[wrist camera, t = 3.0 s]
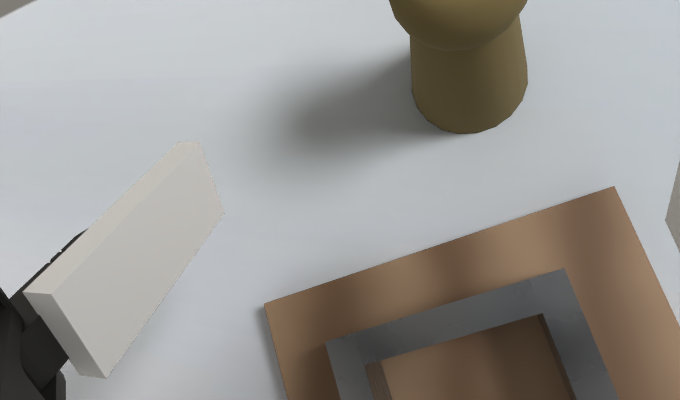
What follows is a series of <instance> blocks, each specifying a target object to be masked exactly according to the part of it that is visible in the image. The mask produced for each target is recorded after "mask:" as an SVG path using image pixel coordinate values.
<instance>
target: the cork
mask: <svg viewBox="0 0 680 400" xmlns="http://www.w3.org/2000/svg"><path fill="white" fill-rule="evenodd" d="M389 2H390V5H391V8H392V11H393V13H394V16H395V19H396V20H397V21H398V22H399V23H400V25H401V26H402V27H403V28H404V29H405V31H406V32H407V33H408V34H409V35H410V53H411V76H412V93H413V96H414V99H415V102H416V105H417V108H418V109H419V110H420V111H421V113H422V114H423V115H424V117H425V118H426V119H427V120H428V121H429V122H431V123H433V124H434V125H436V126H437V127H439V128H440V129H442V130H446V131H450V132H454V133H458V134H466V133H479V132H482V131H485V130H487V129H490V128H493V127H496V126H497V125H499V124H500V123H501V122H503V121H504V120H505V119H507V118H508V117H510V116H511V115H512V113H513V112H514V111H515V109H516V108H517V107H518V105H519V104H520V103H521V101H522V99H523V96H524V93H525V90H526V87H527V84H528V79H527V62H526V56H525V50H524V43H523V37H522V31H521V24H520V18H519V13H520V12H521V11H522V9H523V8H524V6H525V4H526V3H527V0H389Z"/></svg>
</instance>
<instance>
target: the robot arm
mask: <svg viewBox="0 0 680 400" xmlns="http://www.w3.org/2000/svg"><path fill="white" fill-rule="evenodd" d="M224 214H225V213H224V210H223V207H222V204H221V201H220V199H219V196H218V193H217V190H216V187H215V184H214V181H213V178H212V176H211V173H210V170H209V167H208V164H207V161H206V158H205V155H204V153H203V150H202V147H201V144H200V142H178V143H177V144H176V145H175V146H174V147H173V148H172V149H171V150H170V151H169V152H168V153H167V154H166V155H165V156H163V157H162V158H161V159H160V160H159V161H158V162H157V163H156V164H155V165H154V166H153V167H152V168H151V169H150V170H149V171H148V172H147V173H146V174H145V175H144V176H143V177H142V178H141V179H139V180H138V181H137V182H136V183H135V184H134V185H133V186H132V187H131V188H130V189H129V190H128V191H127V192H126V193H125V194H124V195H123V196H122V197H121V198H120V199H119V200H118V201H117V202H116V203H114V204H113V205H112V206H111V207H110V208H109V209H108V210H107V211H106V212H105V213H104V214H103V215H102V216H101V217H100V218H99V219H98V220H97V221H96V222H95V223H94V224H93V225H92V226H90V227H89V228H88V229H86V230H85V231H83V232H82V233H80V234H78V235H77V236H75V237H74V238H73V239H72V240H71V241H70V242H69V243H68V244H67V245H66V246H65V247H64V248H63V249H61V250H62V252H58V253H57V254H56V255H55V256H54V257H53V258H52V259H51V260H50V263H47V264H46V265H45V266H44V267H42V268H41V269H40V270H39V271H38V272H37V273H36V274H35V275H34V276H33V277H32V278H31V279H30V280H29V281H28V282H27V283H26V284H25V285H23V286H22V287H21V288H20V289H19V290H18V291H17V292H16V293H15V294H14V295H13V296H12V297H11V298H10V299H8V297H7V296H6V295H5V293H4V292H3V290H2V289H1V288H0V400H66V381H65V378H64V375H63V374H62V372H61V371H60V369H61V367H62V366H63V365H64V364H65V362H66V361H67V360H68V359H69V360H70V361H71V363H72V364H73V366H74V367H75V369H76V370H77V372H78V373H79V374H80V375H83V376H91V377H99V378H107V377H108V375H109V374H110V373H111V371H112V370H113V368H114V367H115V366H116V364H117V363H118V361H119V360H120V359H121V357H122V356H123V354H124V353H125V352H126V350H127V349H128V347H129V346H130V345H131V343H132V342H133V340H134V339H135V338H136V336H137V335H138V334H139V332H140V331H141V329H142V328H143V327H144V325H145V324H146V322H147V321H148V320H149V318H150V317H151V315H152V314H153V313H154V311H155V310H156V308H157V307H158V306H159V304H160V303H161V301H162V300H163V299H164V297H165V296H166V294H167V293H168V292H169V290H170V289H171V288H172V286H173V285H174V283H175V282H176V281H177V279H178V278H179V276H180V275H181V274H182V272H183V271H184V269H185V268H186V267H187V265H188V264H189V262H190V261H191V260H192V258H193V257H194V255H195V254H196V253H197V251H198V250H199V248H200V247H201V246H202V244H203V243H204V242H205V240H206V239H207V237H208V236H209V235H210V233H211V232H212V230H213V229H214V228H215V226H216V225H217V223H218V222H219V221H220V219H221V218H222V216H223V215H224ZM665 221H666V223H667V226H668V228H669V230H670V232H671V234H672V236H673V239H674V241H675V243H676V245H677V247H678V249H679V251H680V162H679V166H678V170H677V174H676V178H675V182H674V186H673V190H672V194H671V198H670V203H669V207H668V211H667V215H666V219H665Z"/></svg>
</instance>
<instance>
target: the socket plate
mask: <svg viewBox="0 0 680 400" xmlns="http://www.w3.org/2000/svg"><path fill="white" fill-rule="evenodd" d="M264 307H265V311H266V315H267V319H268V323H269V327H270V331H271V335H272V339H273V343H274V347H275V351H276V355H277V359H278V363H279V367H280V371H281V375H282V379H283V383H284V387H285V391H286V395H287V399H288V400H680V326H679V324H678V322H677V320H676V318H675V316H674V314H673V311H672V309H671V307H670V305H669V303H668V301H667V298H666V296H665V294H664V292H663V290H662V288H661V286H660V283H659V281H658V279H657V277H656V275H655V273H654V271H653V268H652V266H651V264H650V262H649V260H648V258H647V256H646V253H645V251H644V249H643V247H642V245H641V243H640V241H639V238H638V236H637V234H636V232H635V230H634V228H633V225H632V223H631V221H630V219H629V217H628V215H627V213H626V210H625V208H624V206H623V204H622V202H621V200H620V198H619V195H618V193H617V191H616V189H615V187H614V186H613V187H610V188H607V189H604V190H601V191H598V192H595V193H592V194H589V195H586V196H583V197H580V198H577V199H574V200H571V201H568V202H565V203H562V204H559V205H556V206H553V207H550V208H547V209H544V210H541V211H538V212H535V213H532V214H529V215H527V216H524V217H521V218H518V219H515V220H512V221H509V222H506V223H503V224H500V225H497V226H494V227H491V228H488V229H485V230H482V231H479V232H476V233H473V234H470V235H467V236H464V237H461V238H458V239H455V240H452V241H449V242H446V243H443V244H440V245H437V246H434V247H431V248H428V249H425V250H422V251H419V252H416V253H413V254H410V255H408V256H405V257H402V258H399V259H396V260H393V261H390V262H387V263H384V264H381V265H378V266H375V267H372V268H369V269H366V270H363V271H360V272H357V273H354V274H351V275H348V276H345V277H342V278H339V279H336V280H333V281H330V282H327V283H324V284H321V285H318V286H315V287H312V288H309V289H306V290H303V291H300V292H297V293H294V294H292V295H289V296H286V297H283V298H280V299H277V300H274V301H271V302H268V303H265V304H264Z"/></svg>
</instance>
